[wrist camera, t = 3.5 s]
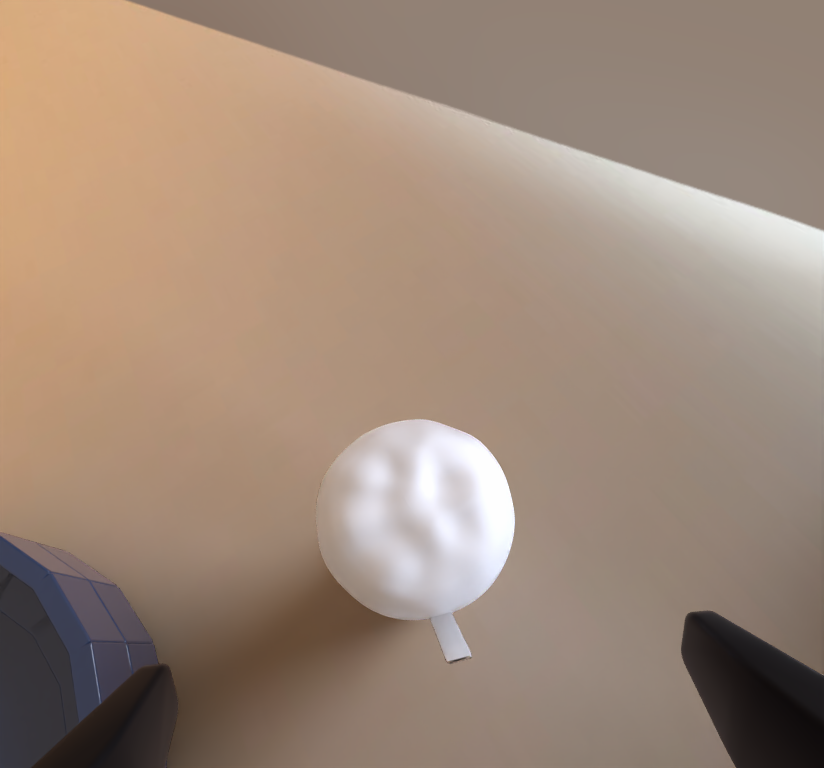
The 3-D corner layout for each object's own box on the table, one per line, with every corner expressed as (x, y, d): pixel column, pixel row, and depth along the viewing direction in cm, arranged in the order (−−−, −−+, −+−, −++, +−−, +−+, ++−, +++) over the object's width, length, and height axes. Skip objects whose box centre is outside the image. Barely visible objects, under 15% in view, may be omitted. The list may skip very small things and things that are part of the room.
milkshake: (365, 672, 17) (325, 696, 8) (340, 516, 20) (288, 407, 11) (494, 638, 18) (585, 628, 9) (454, 491, 20) (494, 366, 11)
